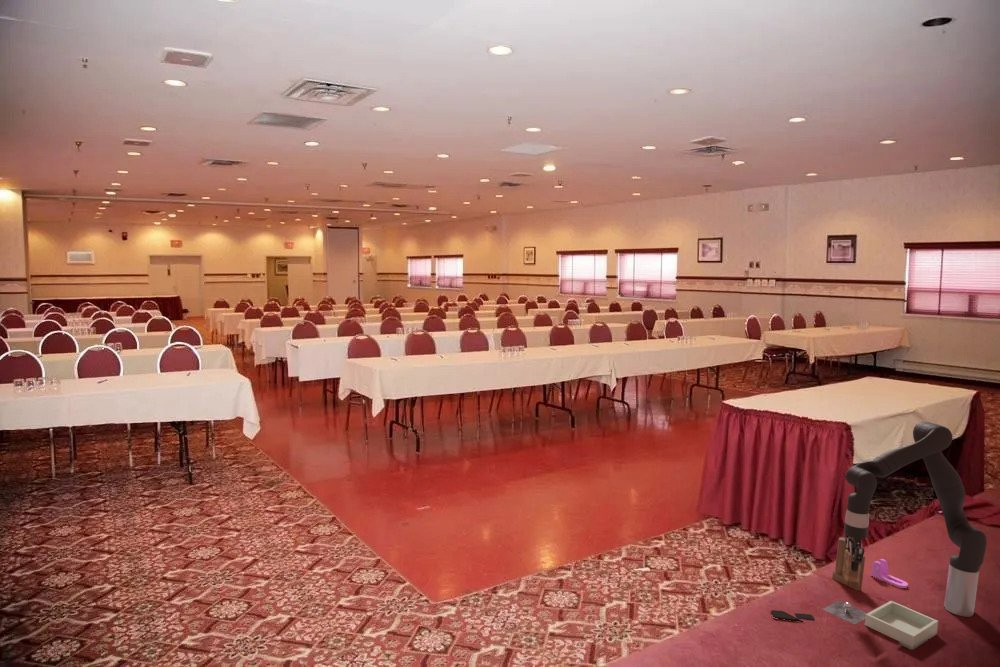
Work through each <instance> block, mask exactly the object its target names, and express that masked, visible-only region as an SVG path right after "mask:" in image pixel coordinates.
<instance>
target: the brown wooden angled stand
mask: <svg viewBox="0 0 1000 667" xmlns="http://www.w3.org/2000/svg"><path fill="white" fill-rule="evenodd" d="M836 549H837V550H836V551H837V552H836V560H835V570H834V571H832V577H831V579H832V580H833V581H836V582H837V583H840V584H842V585H844V586H847V587H849V588H851V589H853V590H855V591H858V592H860V591H862V588H863V580H864V579H863V578H864V572H865V563H866V562H865V561H866V556H863V559H862V562H861V570H860V578H859V582H851V581H846V580H845V579H844V577H843V576H842V572H843V564H844V556H845V537H841V536H840V537H839V538H838V541H837V548H836Z"/></svg>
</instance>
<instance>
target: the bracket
mask: <svg viewBox="0 0 1000 667" xmlns="http://www.w3.org/2000/svg"><path fill="white" fill-rule="evenodd" d="M888 568H889V563H888V561H887V560H886V559H884V558H880V559H878V560H876V561H874V562H873V561H872V563H871V569H870V577H871V576H873V577H872V578H874V577H875V578H874V579H876V578H878V579H879V580H878V579H877V580H878V581H881V580H882V581H881V582H883V581H885V582H888V583H890V584H892V585H895V586H897V587H901V588H907V587H908V588H909V583H908V582H907V581H905V580H903V579H901V578H897V577H895V576H893V575H890V574H888V571H889V570H888ZM890 579H891V580H890ZM895 581H896V582H895ZM885 582H884V583H885ZM888 583H887V584H888ZM890 584H889V585H890ZM892 585H891V586H892ZM895 586H894V587H895ZM897 587H896V588H897ZM901 588H900V589H901ZM908 588H907V589H908Z"/></svg>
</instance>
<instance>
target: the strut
mask: <svg viewBox="0 0 1000 667" xmlns="http://www.w3.org/2000/svg"><path fill="white" fill-rule="evenodd" d="M853 552H855V551H853ZM857 558H858V557H857ZM851 563H852V554H850V550H846V549H845V556H844V564H843V572H842V576H843V577H844V579H845V580H846V581H851V582H859V578H860V570H861V562H859V566H858V571H852V570H851Z"/></svg>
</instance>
